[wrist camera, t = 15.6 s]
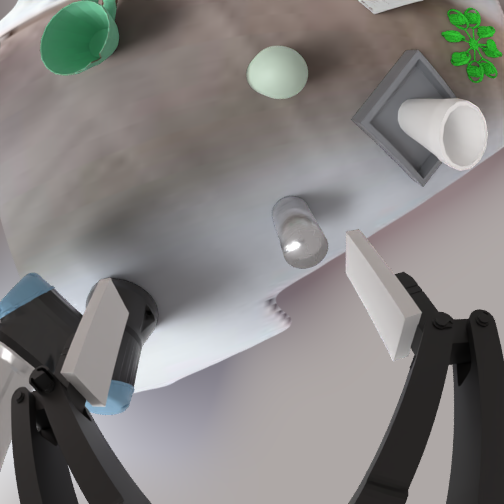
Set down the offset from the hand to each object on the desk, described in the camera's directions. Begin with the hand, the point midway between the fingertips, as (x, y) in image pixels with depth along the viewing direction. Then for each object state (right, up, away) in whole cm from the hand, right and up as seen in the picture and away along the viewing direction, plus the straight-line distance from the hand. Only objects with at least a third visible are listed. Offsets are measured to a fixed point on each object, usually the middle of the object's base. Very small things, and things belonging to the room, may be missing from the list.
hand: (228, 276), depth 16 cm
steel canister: (+7, +7, +32) cm, 34 cm away
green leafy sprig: (+39, +38, +16) cm, 57 cm away
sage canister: (+3, +26, +20) cm, 33 cm away
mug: (-19, +33, +14) cm, 41 cm away
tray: (+27, +23, +24) cm, 43 cm away
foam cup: (+27, +23, +23) cm, 42 cm away
